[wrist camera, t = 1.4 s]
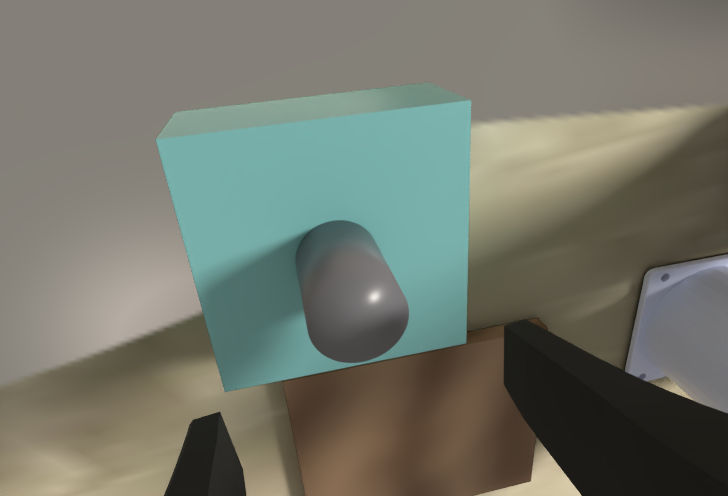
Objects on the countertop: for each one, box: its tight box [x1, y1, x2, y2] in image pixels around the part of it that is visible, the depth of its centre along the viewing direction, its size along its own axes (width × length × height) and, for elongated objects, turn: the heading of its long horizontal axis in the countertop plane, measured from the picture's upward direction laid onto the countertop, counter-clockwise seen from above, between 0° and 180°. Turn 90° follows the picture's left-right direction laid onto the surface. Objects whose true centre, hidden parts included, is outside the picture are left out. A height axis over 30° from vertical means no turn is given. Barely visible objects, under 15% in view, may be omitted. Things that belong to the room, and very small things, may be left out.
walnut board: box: [283, 318, 548, 496], centre depth 28 cm, size 14×12×1 cm
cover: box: [156, 83, 471, 392], centre depth 18 cm, size 10×10×8 cm
